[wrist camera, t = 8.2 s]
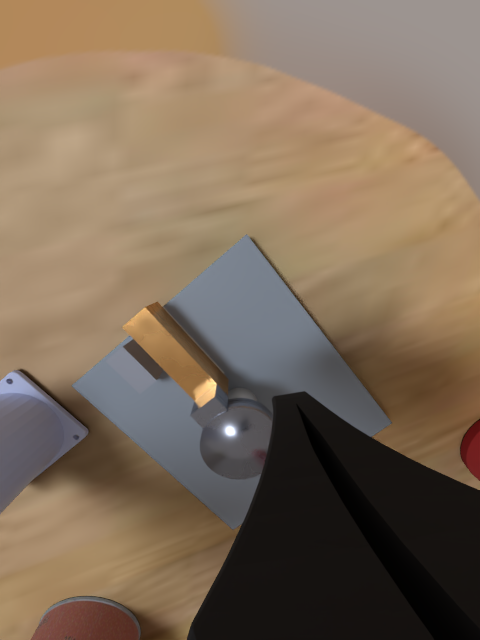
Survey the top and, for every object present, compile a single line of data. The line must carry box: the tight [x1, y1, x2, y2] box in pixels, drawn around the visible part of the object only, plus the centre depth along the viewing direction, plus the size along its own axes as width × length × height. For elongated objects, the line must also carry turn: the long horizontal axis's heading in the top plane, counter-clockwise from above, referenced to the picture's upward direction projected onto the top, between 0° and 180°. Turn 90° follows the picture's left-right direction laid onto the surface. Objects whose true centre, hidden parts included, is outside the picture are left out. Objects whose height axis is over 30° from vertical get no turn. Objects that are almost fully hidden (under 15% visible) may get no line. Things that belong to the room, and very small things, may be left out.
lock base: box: [72, 234, 392, 529], centre depth 18 cm, size 18×20×4 cm
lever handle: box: [122, 302, 273, 480], centre depth 16 cm, size 13×5×4 cm, turn 39°
